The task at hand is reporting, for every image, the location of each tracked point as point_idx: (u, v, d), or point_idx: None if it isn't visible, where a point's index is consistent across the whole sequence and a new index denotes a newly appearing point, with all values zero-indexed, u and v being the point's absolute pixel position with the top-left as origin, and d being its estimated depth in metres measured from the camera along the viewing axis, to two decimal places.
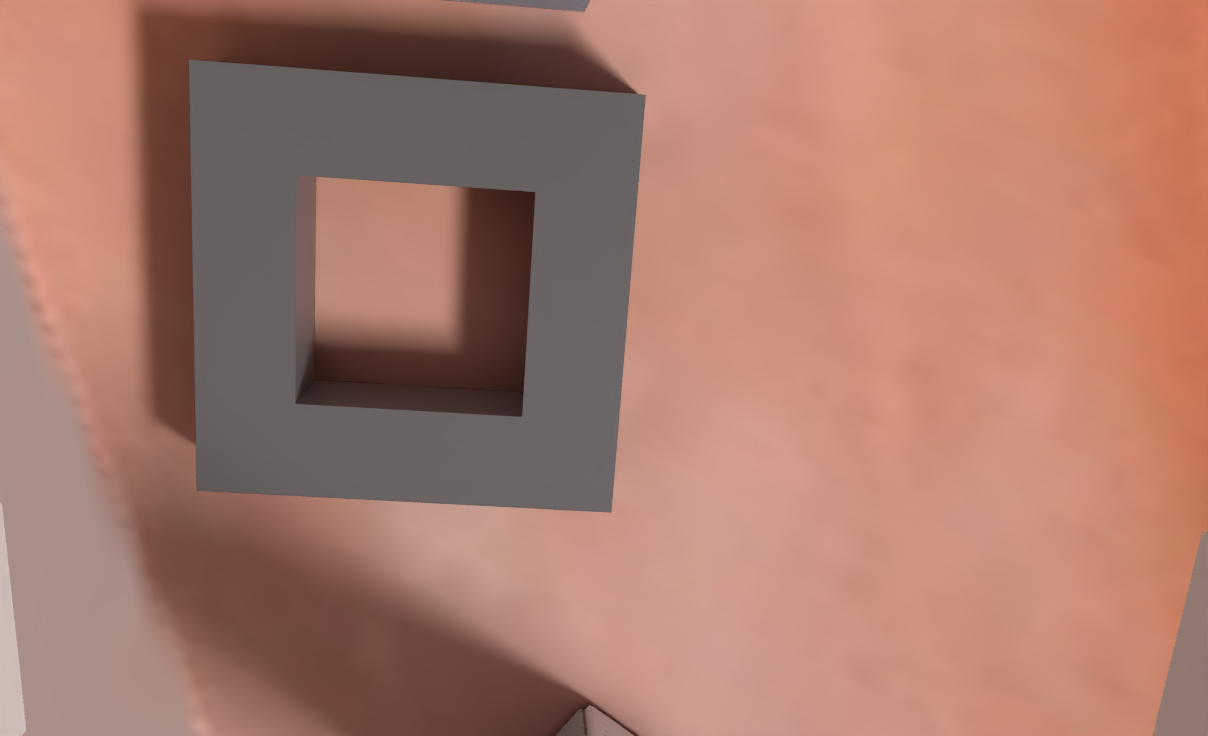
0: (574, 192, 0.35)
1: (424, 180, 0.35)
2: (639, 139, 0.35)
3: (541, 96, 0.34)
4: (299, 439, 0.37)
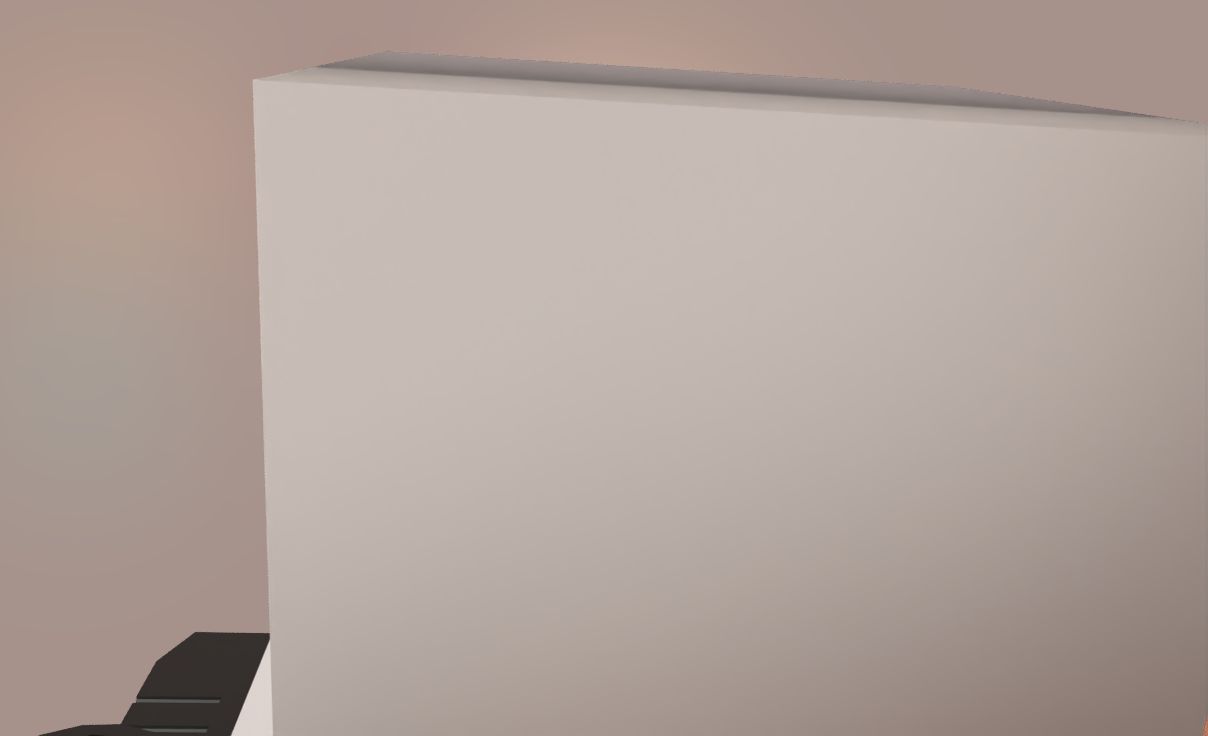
0: None
1: None
2: None
3: None
4: None
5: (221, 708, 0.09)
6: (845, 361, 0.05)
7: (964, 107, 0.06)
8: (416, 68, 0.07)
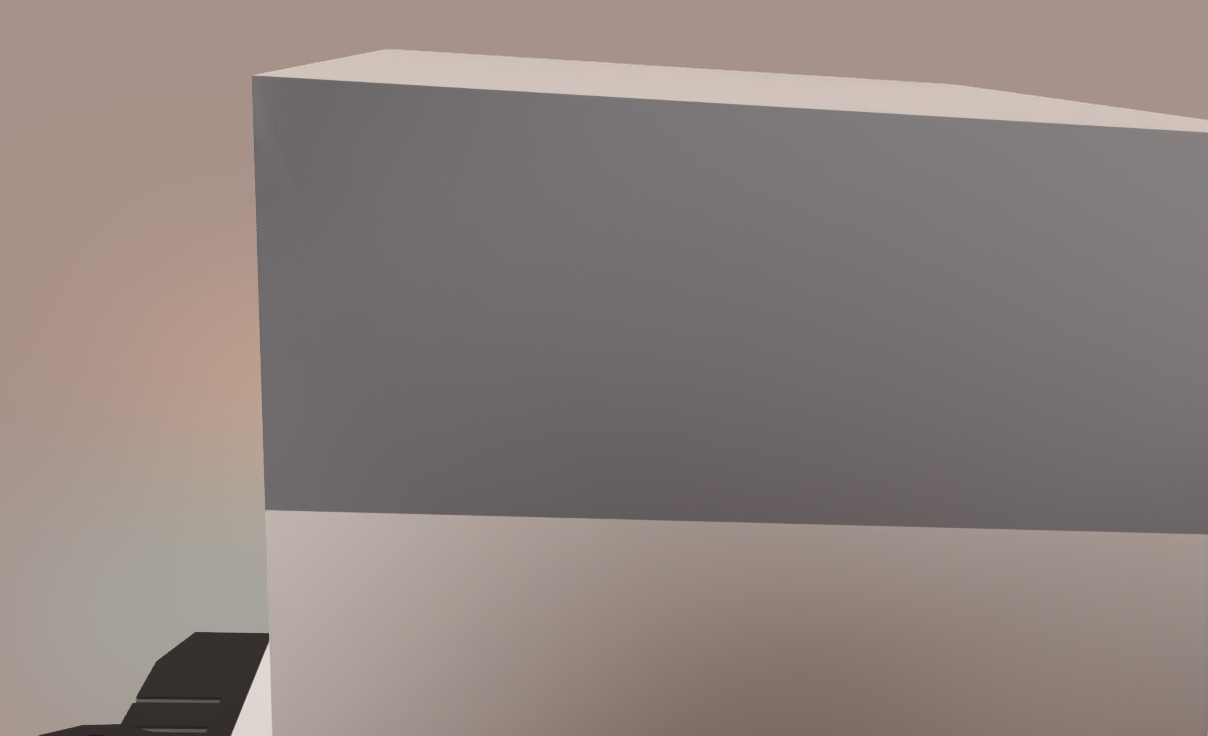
0: None
1: None
2: None
3: None
4: None
5: (221, 708, 0.09)
6: (849, 359, 0.05)
7: (967, 104, 0.06)
8: (416, 65, 0.07)
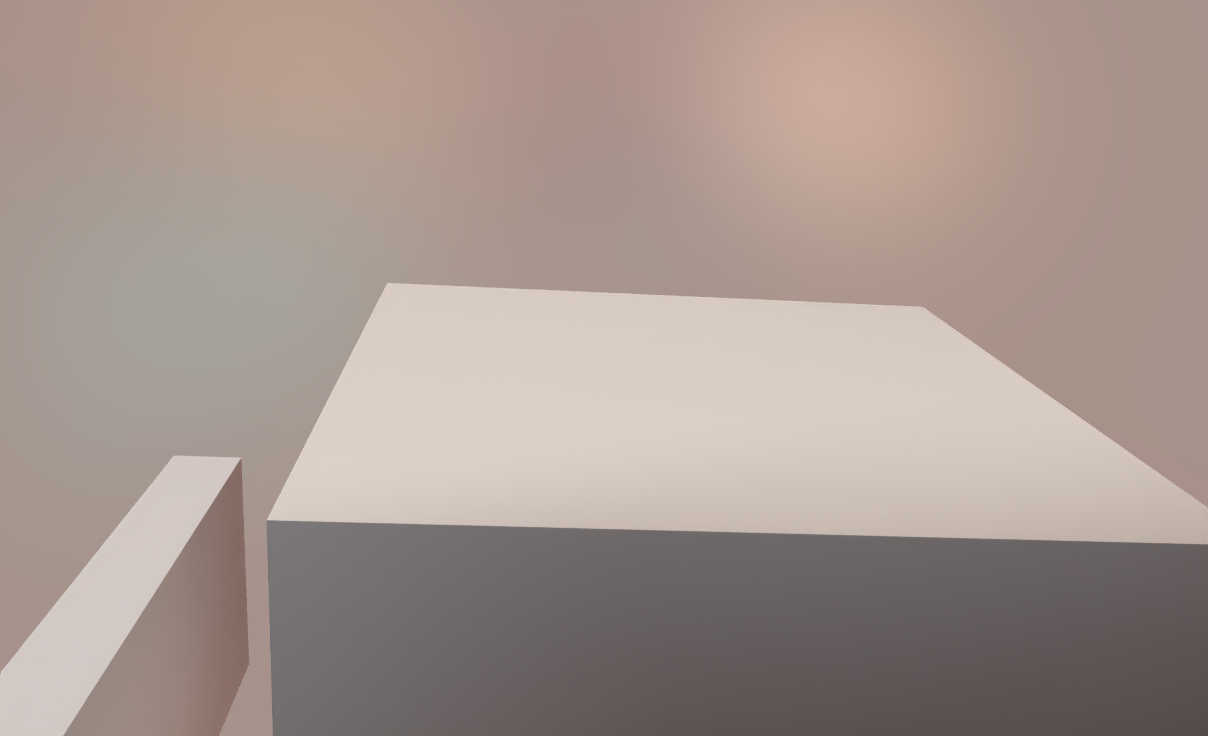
0: None
1: None
2: None
3: None
4: None
5: None
6: (803, 732, 0.06)
7: (918, 440, 0.07)
8: (414, 385, 0.07)
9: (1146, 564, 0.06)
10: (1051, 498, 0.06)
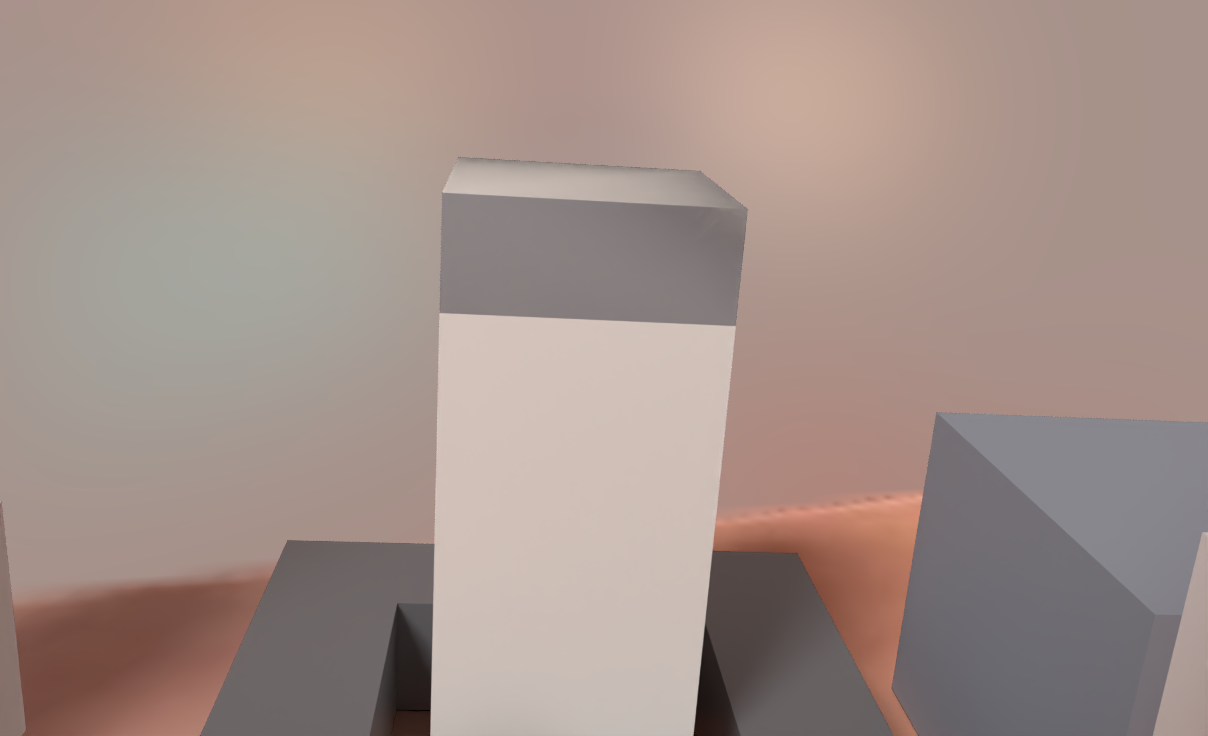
0: None
1: (735, 704, 0.24)
2: None
3: None
4: (344, 605, 0.27)
5: None
6: (606, 270, 0.18)
7: (657, 192, 0.19)
8: (478, 177, 0.20)
9: (711, 214, 0.18)
10: (691, 201, 0.19)
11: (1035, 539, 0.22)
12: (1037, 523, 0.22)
